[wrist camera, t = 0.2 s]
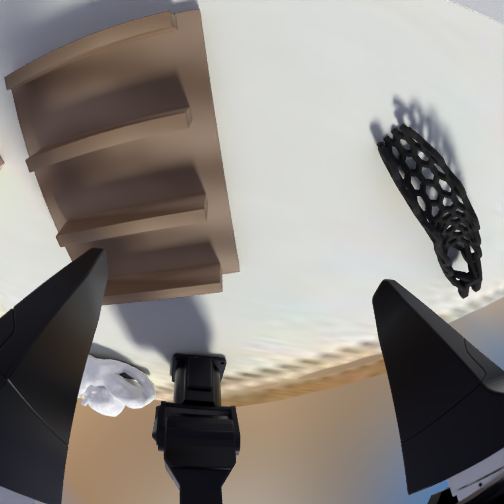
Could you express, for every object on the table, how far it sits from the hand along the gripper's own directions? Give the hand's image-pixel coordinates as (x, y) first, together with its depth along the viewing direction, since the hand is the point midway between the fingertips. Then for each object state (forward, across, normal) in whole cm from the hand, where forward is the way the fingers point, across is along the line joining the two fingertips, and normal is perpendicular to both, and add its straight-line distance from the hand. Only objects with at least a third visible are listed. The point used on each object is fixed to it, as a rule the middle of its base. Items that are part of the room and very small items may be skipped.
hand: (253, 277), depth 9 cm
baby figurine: (+14, +12, +31) cm, 36 cm away
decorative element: (+15, -21, +3) cm, 26 cm away
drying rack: (+14, +8, +3) cm, 17 cm away
